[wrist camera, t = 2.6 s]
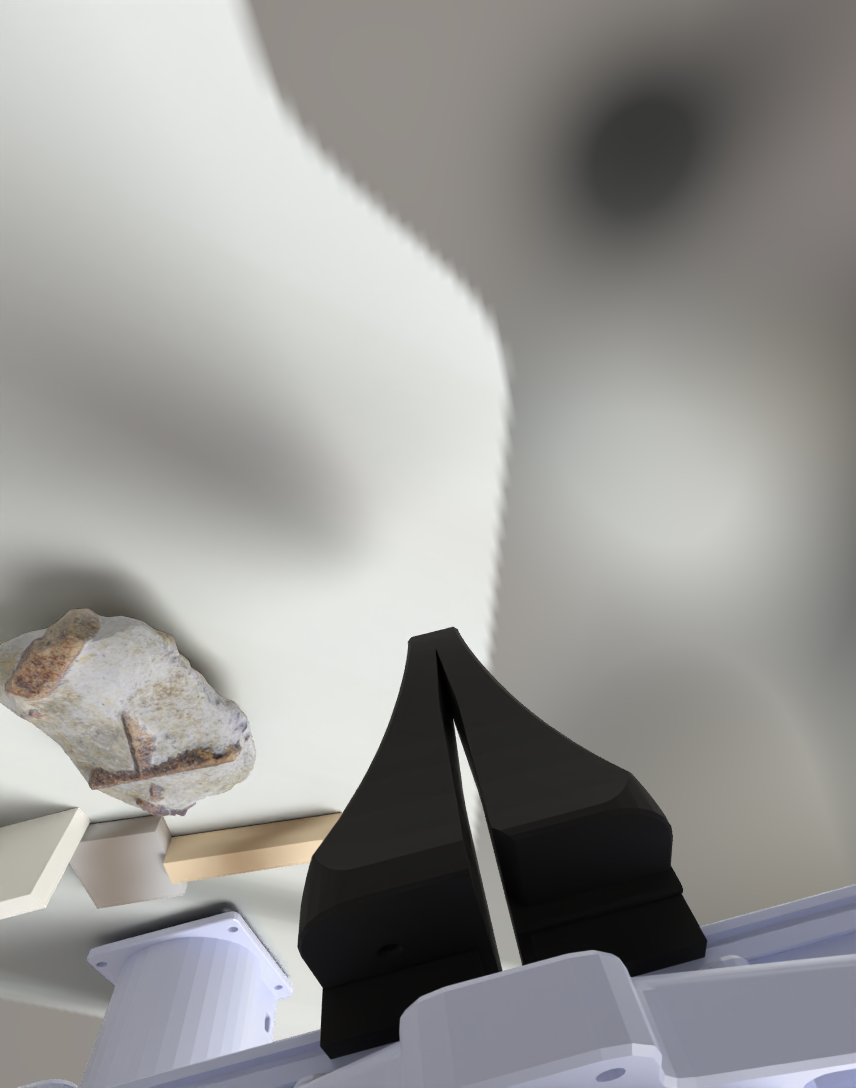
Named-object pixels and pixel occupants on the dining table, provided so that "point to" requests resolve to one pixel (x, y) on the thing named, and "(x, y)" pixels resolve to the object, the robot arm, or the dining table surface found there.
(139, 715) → the stone
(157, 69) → the dining table surface
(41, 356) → the dining table surface
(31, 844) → the bin
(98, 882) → the scoop
